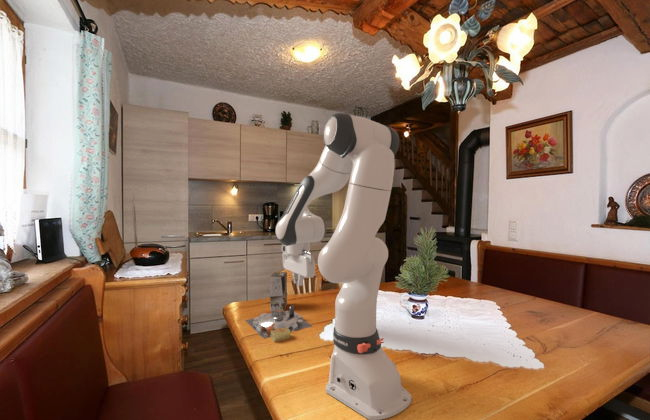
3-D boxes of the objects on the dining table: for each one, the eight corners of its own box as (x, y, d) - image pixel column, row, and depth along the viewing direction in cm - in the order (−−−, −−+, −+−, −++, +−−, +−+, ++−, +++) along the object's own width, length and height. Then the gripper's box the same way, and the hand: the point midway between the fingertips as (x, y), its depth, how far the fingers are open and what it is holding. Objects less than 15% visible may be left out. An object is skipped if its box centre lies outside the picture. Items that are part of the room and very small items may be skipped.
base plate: (312, 328, 116) (312, 326, 116) (263, 341, 105) (263, 338, 105) (289, 312, 133) (289, 310, 133) (245, 322, 122) (245, 320, 122)
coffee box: (284, 312, 133) (284, 276, 132) (269, 312, 133) (269, 276, 133) (287, 306, 142) (287, 272, 142) (273, 305, 142) (273, 271, 142)
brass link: (290, 341, 106) (290, 329, 105) (274, 345, 102) (274, 333, 102) (286, 337, 108) (286, 326, 108) (270, 342, 105) (270, 330, 105)
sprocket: (311, 325, 116) (311, 311, 116) (264, 338, 105) (264, 322, 105) (289, 311, 132) (289, 298, 132) (246, 320, 122) (246, 306, 122)
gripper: (319, 251, 108) (319, 289, 108) (293, 245, 125) (293, 278, 126) (304, 252, 105) (304, 292, 105) (279, 246, 122) (279, 280, 122)
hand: (298, 284), depth 115 cm, fingers closed
